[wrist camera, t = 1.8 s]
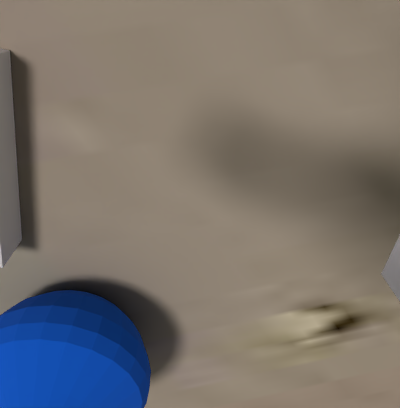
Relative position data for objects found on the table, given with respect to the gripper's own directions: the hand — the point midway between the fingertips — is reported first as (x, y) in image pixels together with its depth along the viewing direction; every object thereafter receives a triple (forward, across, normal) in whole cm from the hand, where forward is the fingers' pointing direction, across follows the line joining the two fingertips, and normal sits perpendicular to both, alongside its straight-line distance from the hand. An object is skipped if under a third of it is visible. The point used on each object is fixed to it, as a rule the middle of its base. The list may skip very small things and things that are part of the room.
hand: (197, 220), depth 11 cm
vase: (+23, -10, -30) cm, 39 cm away
